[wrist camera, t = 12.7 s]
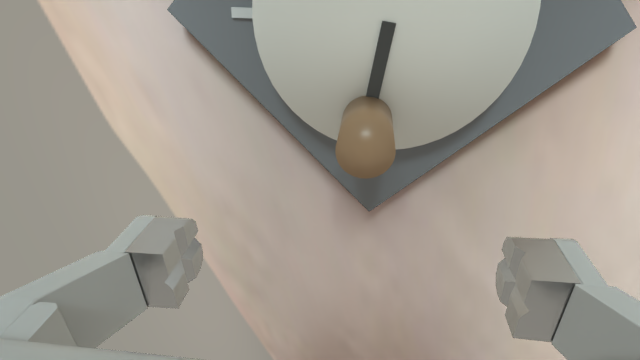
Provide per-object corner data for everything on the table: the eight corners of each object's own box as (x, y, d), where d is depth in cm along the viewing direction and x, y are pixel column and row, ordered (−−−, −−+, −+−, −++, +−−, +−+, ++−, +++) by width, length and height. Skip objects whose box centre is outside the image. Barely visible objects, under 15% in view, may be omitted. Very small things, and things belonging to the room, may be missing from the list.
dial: (270, -176, 20) (228, -233, 14) (586, -124, 19) (673, -161, 14) (250, 117, 28) (218, 156, 22) (474, 160, 27) (500, 212, 22)
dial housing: (418, -305, 19) (423, -336, 17) (618, 22, 24) (638, 27, 22) (180, 6, 27) (165, 10, 25) (369, 198, 32) (369, 213, 30)
